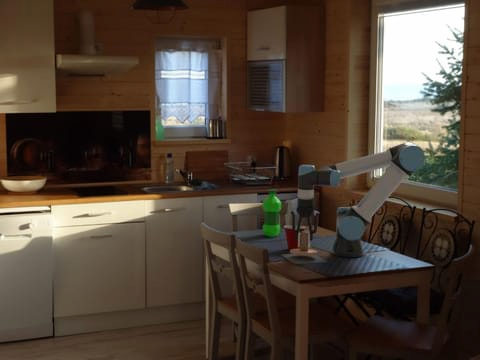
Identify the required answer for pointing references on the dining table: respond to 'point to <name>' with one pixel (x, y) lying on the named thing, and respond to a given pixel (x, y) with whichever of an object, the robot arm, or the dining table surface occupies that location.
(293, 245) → the plastic cup
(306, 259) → the mat
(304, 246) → the lid
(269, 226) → the plastic bottle
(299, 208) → the robot arm
